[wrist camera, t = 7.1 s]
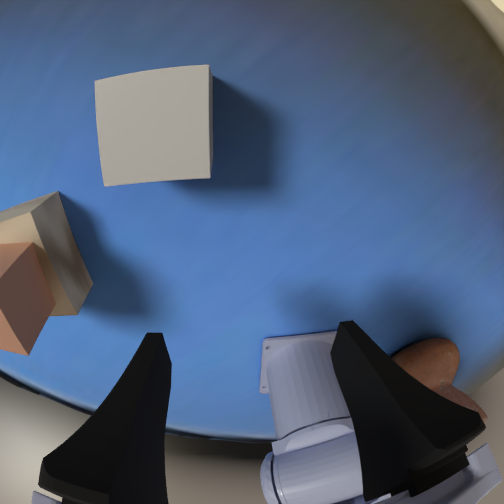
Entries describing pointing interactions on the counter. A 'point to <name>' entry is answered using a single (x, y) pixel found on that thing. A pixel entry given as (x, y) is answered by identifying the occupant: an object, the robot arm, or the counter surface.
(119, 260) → the counter surface
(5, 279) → the terracotta cube
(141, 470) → the robot arm
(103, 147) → the grey block
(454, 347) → the ceramic jug
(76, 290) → the birch plinth
